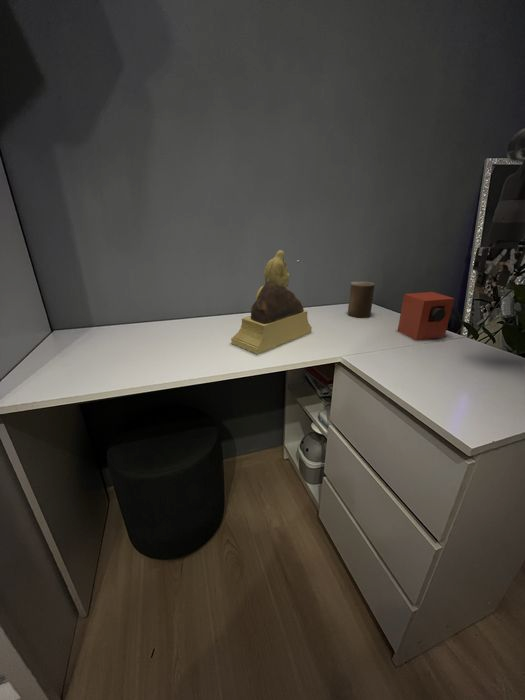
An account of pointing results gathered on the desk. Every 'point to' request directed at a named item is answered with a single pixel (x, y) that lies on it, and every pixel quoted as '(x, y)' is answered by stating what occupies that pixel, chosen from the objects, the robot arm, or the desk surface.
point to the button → (437, 314)
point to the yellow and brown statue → (273, 313)
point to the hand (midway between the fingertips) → (490, 286)
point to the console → (424, 315)
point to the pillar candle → (361, 299)
